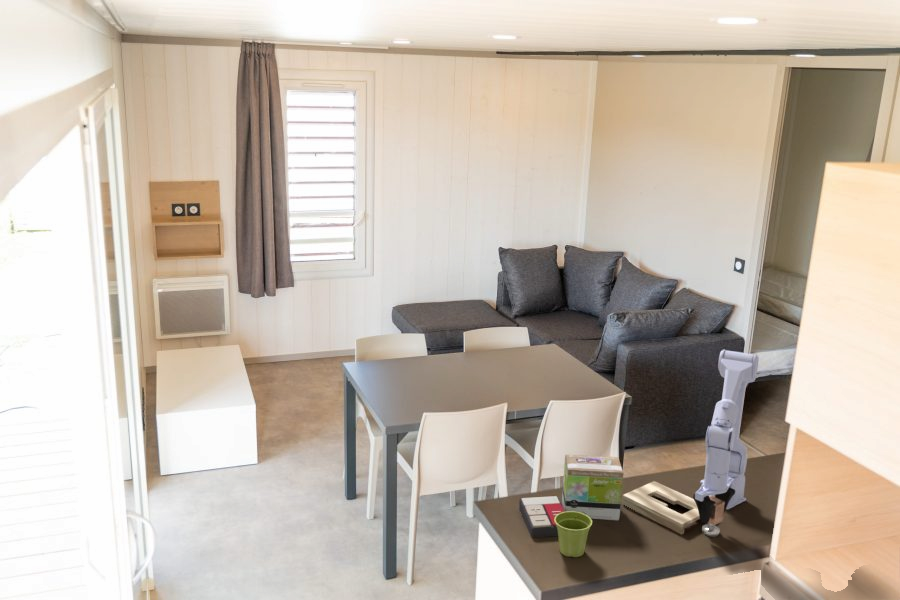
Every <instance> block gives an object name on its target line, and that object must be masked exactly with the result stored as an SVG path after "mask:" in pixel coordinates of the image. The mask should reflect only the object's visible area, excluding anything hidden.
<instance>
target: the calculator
mask: <svg viewBox="0 0 900 600" xmlns="http://www.w3.org/2000/svg"><path fill="white" fill-rule="evenodd" d="M518 505H519V506H518V507H519V508H518V510H519V513H520V512H521V513H520V515H521V514H522V515H521V517H522V518H523V521H524V524H525V526H526V528H527V530H528V533H529V535H530V537H531V538H540V537H541V538H542V537H543V538H544V537H555V536H556V537H558V529H557V526H556V524H555V521H554V518H555V516H556V515H557V514H559V513H562V512H565V510H564V508H563V503H562V501H561V500H560V498H559V497H558V496H556V495H554V496H539V497H538V496H535V497H522V498H519V504H518Z"/></svg>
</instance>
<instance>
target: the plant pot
mask: <svg viewBox="0 0 900 600" xmlns="http://www.w3.org/2000/svg"><path fill="white" fill-rule="evenodd" d="M554 521H555V524H556V526H557V529H558V536H557V537H558V545H559V546H558V547H559V552H560V553H561V554H562V555H563V556H565V557H573V558H578V557H582V556H583V555H584V553H585V549H586V544H587V540H588V534H589V531H590V529H591V526H592V525H593V519H591V518H590V517H589V516H587V515H585V514H583V513H580V512H575V511H566V512H562V513H559V514H557V515H556V516H555V518H554Z"/></svg>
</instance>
